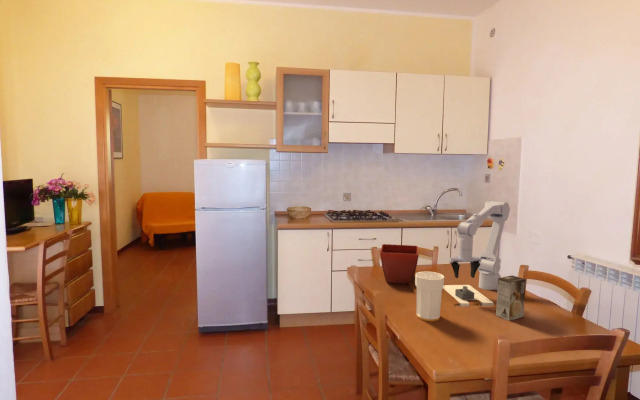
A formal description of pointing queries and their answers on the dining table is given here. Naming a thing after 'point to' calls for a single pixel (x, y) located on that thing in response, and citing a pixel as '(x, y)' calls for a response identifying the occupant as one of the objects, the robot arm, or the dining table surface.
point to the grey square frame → (464, 294)
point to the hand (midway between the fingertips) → (464, 277)
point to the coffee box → (510, 297)
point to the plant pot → (399, 262)
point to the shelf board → (463, 302)
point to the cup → (429, 295)
